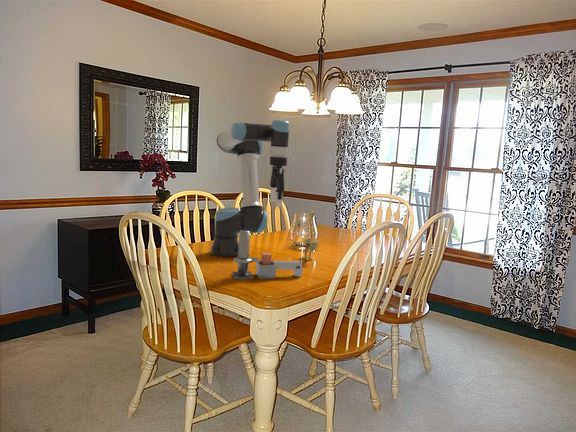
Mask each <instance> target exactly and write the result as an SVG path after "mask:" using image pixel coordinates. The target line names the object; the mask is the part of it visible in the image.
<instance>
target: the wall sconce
mask: <svg viewBox="0 0 576 432" xmlns="http://www.w3.org/2000/svg"><path fill="white" fill-rule="evenodd" d="M314 217H315V212H314V210H311V211H310V214H309V218H308V220H309V229H310V231H309V232H310V237H309V238H307V237H306V238H304V237H303V238H299V239H298V242H300V243H303V244H305V246H304V247H305V249H304V259H305V261H307V262H308V261H309V260H310V258H311V256H312V252H313V251H316V250H317V249H318V248H319V240H317V238H314V236H313V226H312V225H313V224H312V219H314ZM308 252H309V254H308ZM307 254H308V256H307Z"/></svg>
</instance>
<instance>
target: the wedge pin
mask: <svg viewBox="0 0 576 432" xmlns="http://www.w3.org/2000/svg"><path fill="white" fill-rule="evenodd" d="M260 261H261V265H271V261H272V254H271V252H261V259H260Z"/></svg>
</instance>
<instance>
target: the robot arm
mask: <svg viewBox="0 0 576 432" xmlns="http://www.w3.org/2000/svg"><path fill="white" fill-rule="evenodd" d="M289 135H290V123H289V121H288V120H277V119H274V120H272V122H271V124H264V123H263V124H262V123H248V122H240V121H239V122H234V123H232V125H231V129H230V130H224V131H222V132H220V133H218V135H217V136H216V137H217V138H216V145H217V147H218V148H219V149H220V150H221V151H223V152H224V153H226V154H232V155H236V158H237V159H238V160H239V162H240V174H241V191H242V205H241V207H240V209H239V208H238V207H223V208H220V209H217V210H216V211H215V216H214V239H213V242H212V244H211V247H210V255H212V256H215V257H221V258H222V257H223V258H234V257H238V253H239V231H240V230H248V231H250V234H258V233H263V232H265V230H266V228H267V225H268V218H269V217H268V211H267V210H264V206H263V205H262V204H261V203H260V191H259V177H258V161H257V160H258V159H259V158H260V155H262V153H263V142H268V143H270V147H269V148H270V149H269V150H270V151H269V155H270V157H269V165H270V166H271V167H272V168H271V169H272V170H271V177H270V181H269V185H270V193H269V194H270V195H269V198H270V199H269V202H270V203H275V206H274V207H275V208H283V197H284V196H283V195H284V191H285V176H284V175H285V174H284V172H285V169H284V168H283V167H286V166H287V165H288V158H287V157H288V152H289V150H290V149H289Z"/></svg>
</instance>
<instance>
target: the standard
mask: <svg viewBox="0 0 576 432" xmlns="http://www.w3.org/2000/svg"><path fill="white" fill-rule="evenodd" d="M250 234H251V233H250V231H248V230H240V231H239V233H238V243H239V253H238V256H234V257H233V262H234V263H237V271H232V273H231V274H232V277H233V279H234V281H235V280H254V275H253V273H252V271H249V264H251V263H253V262H255V263H256V262H259V261H260V260H259V258H258V257H251V256H250V254H249V253H250V238H251V235H250Z"/></svg>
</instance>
